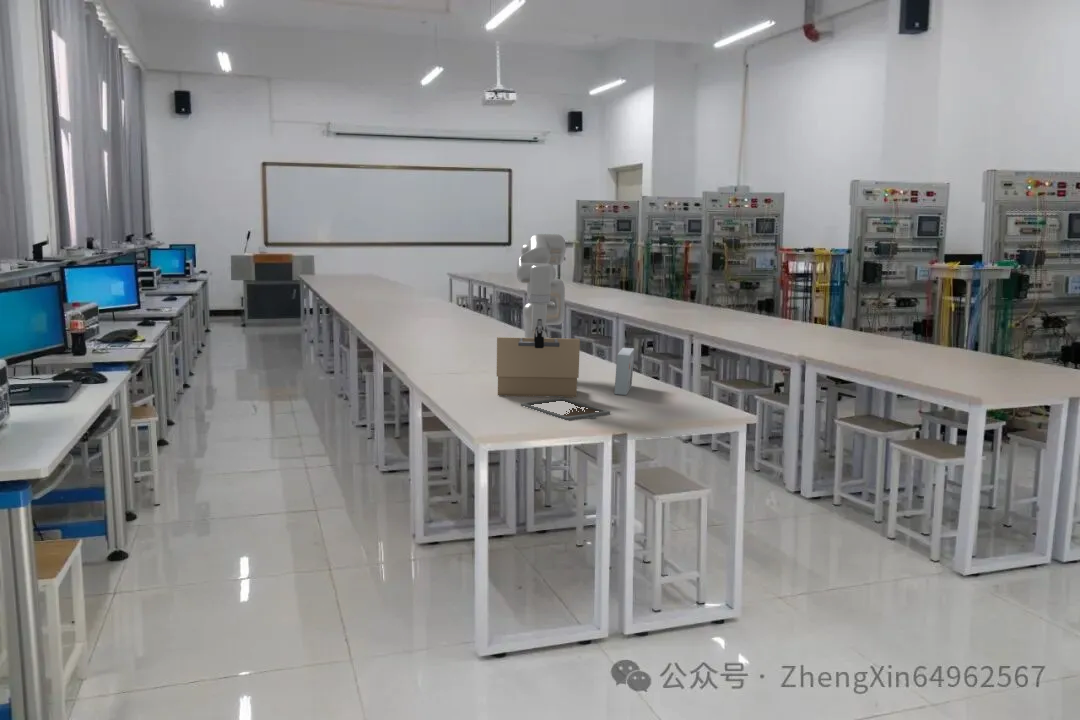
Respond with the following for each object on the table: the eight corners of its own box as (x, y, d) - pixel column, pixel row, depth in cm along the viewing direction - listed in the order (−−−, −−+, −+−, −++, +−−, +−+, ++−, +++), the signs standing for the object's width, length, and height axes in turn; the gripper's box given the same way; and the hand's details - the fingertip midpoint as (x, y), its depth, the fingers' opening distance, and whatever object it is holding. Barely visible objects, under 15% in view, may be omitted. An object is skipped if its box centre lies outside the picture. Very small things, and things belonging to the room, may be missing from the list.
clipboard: (562, 397, 320) (615, 412, 296) (562, 401, 320) (615, 417, 296) (520, 403, 309) (572, 419, 285) (520, 407, 309) (572, 424, 285)
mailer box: (498, 388, 339) (498, 369, 338) (574, 390, 340) (574, 371, 339) (497, 395, 325) (497, 376, 324) (576, 397, 326) (577, 377, 325)
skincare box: (627, 395, 332) (629, 355, 329) (613, 394, 333) (615, 354, 330) (633, 385, 352) (634, 347, 349) (619, 385, 353) (621, 346, 351)
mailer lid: (497, 336, 320) (496, 341, 311) (579, 337, 321) (581, 343, 312) (496, 375, 324) (495, 382, 315) (578, 377, 325) (580, 383, 316)
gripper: (529, 296, 319) (528, 342, 322) (529, 301, 302) (528, 349, 305) (549, 297, 319) (548, 342, 322) (551, 302, 302) (549, 350, 305)
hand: (538, 345), depth 313 cm, fingers open, 9 cm apart
